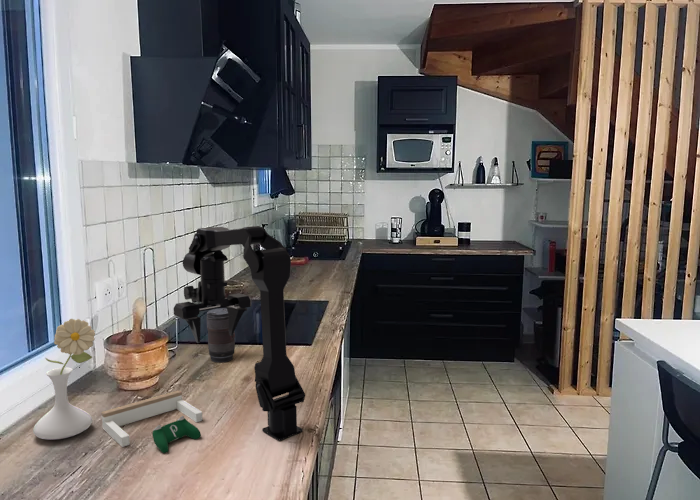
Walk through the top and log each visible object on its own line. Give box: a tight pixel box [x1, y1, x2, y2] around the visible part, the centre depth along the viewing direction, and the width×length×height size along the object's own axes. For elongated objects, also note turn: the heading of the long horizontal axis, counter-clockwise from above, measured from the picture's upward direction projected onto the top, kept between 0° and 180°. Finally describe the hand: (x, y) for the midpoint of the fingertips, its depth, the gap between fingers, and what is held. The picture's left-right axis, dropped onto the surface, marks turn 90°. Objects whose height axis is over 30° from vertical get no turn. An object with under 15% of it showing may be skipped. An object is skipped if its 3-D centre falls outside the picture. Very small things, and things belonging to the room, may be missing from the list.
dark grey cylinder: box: [206, 307, 236, 363], centre depth 164 cm, size 8×8×15 cm
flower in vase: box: [32, 318, 96, 440], centre depth 116 cm, size 13×11×25 cm
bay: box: [101, 389, 203, 448], centre depth 121 cm, size 12×18×4 cm, turn 133°
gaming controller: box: [152, 415, 202, 454], centre depth 113 cm, size 9×4×6 cm
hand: (214, 338), depth 136 cm, fingers open, 9 cm apart
